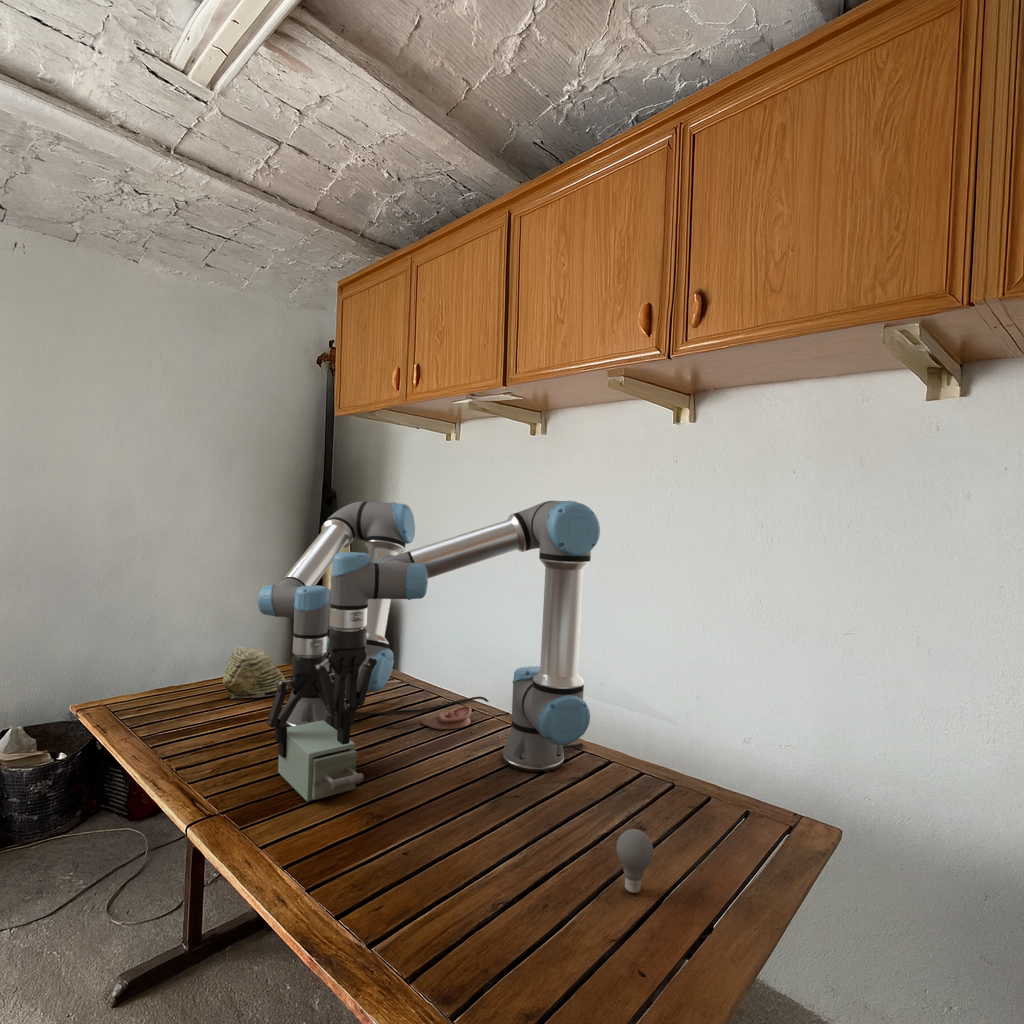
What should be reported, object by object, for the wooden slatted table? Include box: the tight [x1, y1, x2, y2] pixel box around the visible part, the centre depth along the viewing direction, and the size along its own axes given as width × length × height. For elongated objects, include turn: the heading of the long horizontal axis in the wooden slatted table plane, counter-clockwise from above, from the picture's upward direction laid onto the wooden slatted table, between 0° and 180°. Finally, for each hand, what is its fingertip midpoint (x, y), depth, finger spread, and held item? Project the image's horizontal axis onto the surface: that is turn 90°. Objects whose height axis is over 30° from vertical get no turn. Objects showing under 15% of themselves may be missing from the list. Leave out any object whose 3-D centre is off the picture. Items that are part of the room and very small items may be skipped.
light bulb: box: [615, 828, 654, 894], centre depth 106 cm, size 6×6×10 cm
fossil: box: [222, 646, 286, 699], centre depth 198 cm, size 9×18×15 cm, turn 132°
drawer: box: [312, 749, 364, 801], centre depth 137 cm, size 22×9×8 cm, turn 40°
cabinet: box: [277, 720, 356, 802], centre depth 141 cm, size 17×10×10 cm, turn 40°
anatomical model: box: [421, 705, 472, 730], centre depth 181 cm, size 13×4×12 cm
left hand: (306, 750), depth 145 cm, fingers closed on cabinet, 10 cm apart
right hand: (343, 741), depth 130 cm, fingers closed
